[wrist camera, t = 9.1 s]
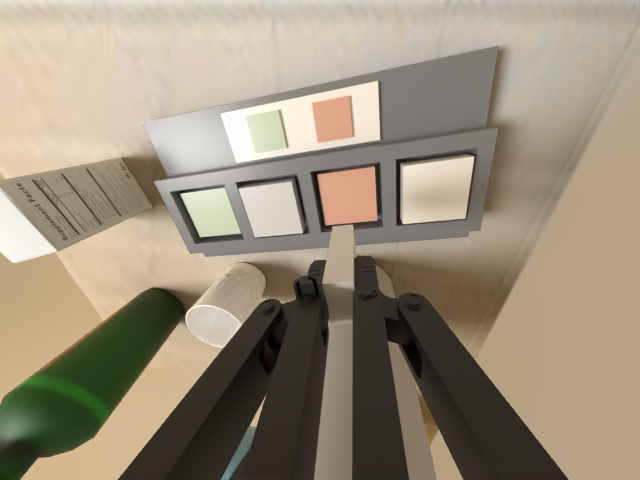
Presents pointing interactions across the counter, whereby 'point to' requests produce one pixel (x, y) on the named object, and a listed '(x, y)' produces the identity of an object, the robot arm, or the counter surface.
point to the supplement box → (65, 207)
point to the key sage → (211, 211)
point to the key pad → (334, 149)
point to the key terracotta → (348, 194)
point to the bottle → (83, 383)
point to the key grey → (273, 207)
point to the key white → (435, 188)
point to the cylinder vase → (337, 407)
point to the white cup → (226, 304)
